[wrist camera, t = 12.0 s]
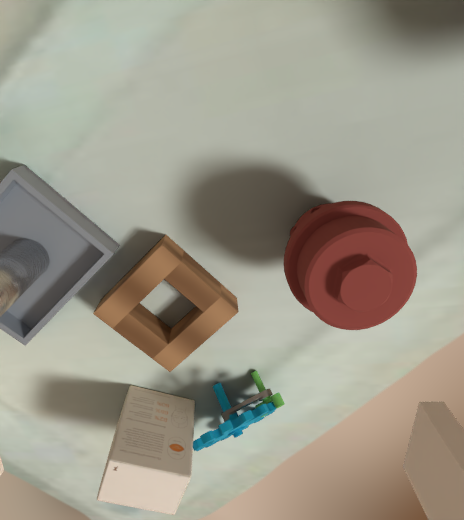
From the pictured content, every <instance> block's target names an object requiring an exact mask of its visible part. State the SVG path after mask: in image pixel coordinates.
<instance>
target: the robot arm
mask: <svg viewBox="0 0 464 520" xmlns="http://www.w3.org/2000/svg"><path fill="white" fill-rule="evenodd" d="M403 468H404V470H405V472H406V474H407V476H408V478H409V480H410V482H411V484H412V486H413V489H414V491H415V493H416V495H417V497H418V499H419V501H420V503H421V505H422V507H423V509H424V511H425V513H426V516H427V518H428V520H464V429H463V428H462V426H461V425H460V424H459V422H458V421H457V420H456V418H455V417H454V415H453V414H452V413H451V411H450V410H449V408H448V407H447V406H446V404H445V403H444V402H419V405H418V409H417V413H416V417H415V421H414V425H413V429H412V433H411V437H410V441H409V445H408V449H407V453H406V457H405V461H404V465H403ZM3 470H4V468H3V464H2V461H1V457H0V475H1V473H2V472H3Z"/></svg>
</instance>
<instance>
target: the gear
mask: <svg viewBox="0 0 464 520" xmlns="http://www.w3.org/2000/svg"><path fill="white" fill-rule="evenodd" d="M251 375H252V377H253V379H254V381H255V383H256V386H257V388H258V390H259V392H260V393H258V394H257V395H255V396H253V397H251V398H249V399H247V400H245V401H243V402H242V403H240V404H238V405H236V406H234V407H232V408H231V405H230V403H229V401H228V399H227V396H226V394H225V392H224V390H223V387H222V385H221V383H218V384H216V385H214V386H213V389H214V391H215V394H216V396H217V398H218V401H219V403H220V405H221V408H222V410H223V413H222V414H221V415H222V417H223V419H224V423H222V424H220V425H219V426H218V427H219V428H218V429H216V430H214V431H212V430H211V431H209V432H207V433H205V434H203V435H201V436H200V437H201V438H199V439H197V440H195V441H193V449H194V451H195V450H196V451H199V450H201V449H203V448H204V447H209V446H211V445H213V444H215V443H216V442H218V441H220V440H221V441H222V440H224V439H226V438H228V437H230V436H231V435H234V438H235V437H238V436H239V435H241V434H243V432H242V430H244V429H246V428H247V427H248V425H250V424H252V423H256V422H258V421H260V420H262V419H263V418H264V416H267V415H269V414H271V413H273V412H274V411H275V410H276V408H279V407H281V406H283V405H284V402H283V400H282V398H281V396H280V394H279V393H277V394H274V395H273V394H272V392H271V390H270V389H265V387H264V385H263V383H262V381H261V379H260V377H259V375H258V373H257V371H255V372H253V373H251ZM272 395H273V396H272ZM257 400H259V401H263V402H262V403H260V404H258V405H256V406H255V407H256V409H254V410H252V411H251V410H249V411H246V412H244V413H242V414H241V415H239V416H238V414H237V412H236V411H238V410H240V409H242V408H244V407H246V406H248V405H250V404H251V403H253V402H255V401H257ZM272 401H273V402H272Z"/></svg>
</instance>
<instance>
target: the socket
mask: <svg viewBox="0 0 464 520" xmlns="http://www.w3.org/2000/svg"><path fill="white" fill-rule="evenodd" d="M163 279H165V280H166V281H167V282H169V283H170V284H171V285H172V286H173V287H175V288H176V289H177V290H178V291H179V292H180V293H182V294H183V295H184V296H185V297H186V298H187V299H189V300H190V301H191V302H192V303H193V304H195V305H196V307H195V308H193V309H192V310H191V311H190V312H189V313H188V314H187V315H186V316H185V317H184V318H183V319H181V320H180V321H179V322H178V323H177V324H176V325H175V326H174V327H173V328H172V329H171V328H170V327H169V326H167V325H166V324H165V323H164V322H162V321H161V320H160V319H159V318H157V317H156V316H155V315H154V314H152V313H151V312H150V311H149V310H147V309H146V308H145V307H144V306H142V305H141V304H140V302H141V301H142V300H143V299H144V298H145V297H146V296H147V295H148V294H149V293H150V292H151V291H152V290H153V289H154V288H155V287H156V286H157V285H158V284H159V283H160V282H161V281H162V280H163ZM237 313H238V304H237V298H236V297H235V296H234V295H233V294H232V293H231V292H230V291H229V290H227V289H226V288H225V287H224V286H223V285H222V284H221V283H220V282H219V281H217V280H216V279H215V278H214V277H213V276H212V275H211V274H210V273H208V272H207V271H206V270H205V269H204V268H203V267H202V266H201V265H199V264H198V263H197V262H196V261H195V260H194V259H193V258H192V257H191V256H189V255H188V254H187V253H186V252H185V251H184V250H183V249H182V248H180V247H179V246H178V245H177V244H176V243H175V242H174V241H173V240H171V239H170V238H169V237H168V236H167V235H165V236H164V237H163V238H162V239H161V240H160V241H159V242H158V243H157V244H156V245H155V246H154V247H153V248H152V249H151V250H150V251H149V252H148V253H147V254H146V255H145V256H144V257H143V258H142V259H141V260H140V261H139V262H138V263H137V264H136V265H135V266H134V267H133V268H132V269H131V270H130V271H129V272H128V273H127V274H126V275H125V276H124V277H123V278H122V279H121V280H120V281H119V282H118V283H117V284H116V285H115V286H114V287H113V288H112V289H111V290H110V291H109V292H108V293H107V294H106V295H105V296H104V297H103V298H102V299H101V301H100V303H99V304H98V306H97V308H96V310H95V311H94V313H93V314H94V315H96V316H97V317H98V318H100V319H101V320H102V321H103V322H105V323H106V324H107V325H109V326H110V327H111V328H113V329H114V330H115V331H117V332H118V333H119V334H121V335H122V336H123V337H125V338H126V339H127V340H128V341H130V342H131V343H132V344H134V345H135V346H136V347H138V348H139V349H140V350H142V351H143V352H144V353H146V354H147V355H148V356H150V357H151V358H152V359H153V360H155V361H156V362H157V363H159V364H160V365H161V366H163V367H164V368H165V369H167V370H168V371H169V372H171V371H172V370H173V369H174V368H175V367H176V366H177V365H179V364H180V363H181V362H182V361H183V360H184V359H185V358H187V357H188V356H189V355H190V354H191V353H192V352H193V351H194V350H196V349H197V348H198V347H199V346H200V345H201V344H202V343H204V342H205V341H206V340H207V339H208V338H209V337H210V336H212V335H213V334H214V333H215V332H216V331H217V330H218V329H220V328H221V327H222V326H223V325H224V324H225V323H226V322H227V321H229V320H230V319H231V318H232V317H233V316H234V315H235V314H237Z"/></svg>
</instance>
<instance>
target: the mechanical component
mask: <svg viewBox="0 0 464 520" xmlns="http://www.w3.org/2000/svg"><path fill="white" fill-rule="evenodd" d="M290 236H291V237H290V239H289V241H288V244H287V246H286V250H285V255H284V272H285V276H286V279H287V282H288V284H289V287H290V289H291V291H292V293H293V295H294V296H295V298H296V299H297V300H298V301H299V302H300V303H301V304H302V305H303V306H304V307H305V308H307V309H308V310H310V311H312V312H314V313H315V315H316V316H317V317H319V318H320V319H321V320H322V321H324V322H325V323H327V324H329V325H331V326H333V327H336V328H340V329H346V330H360V329H366V328H370V327H373V326H376V325H378V324H381V323H383V322H385V321H386V320H388V319H390V318H391V317H392V316H394V315H395V314H396V313H397V312H398V311H399V310H400V309H401V308H402V307H403V306H404V305H405V303H406V302H407V301H408V299H409V297H410V296H411V294H412V292H413V289H414V286H415V283H416V277H417V266H416V260H415V257H414V255H413V252H412V251H411V249H410V247H409V246H408V244H407V239H406V237H405V234H404V232H403V230H402V229H401V227H400V226H399V224H398V223H397V222H396V221H395V220H394V219H393V218H392V217H391V216H389V215H388V214H387V213H385V212H384V211H382V210H381V209H379V208H377V207H375V206H373V205H371V204H368V203H364V202H358V201H342V202H336V203H332V204H322V205H319V206H316V207H313V208H312V209H310V210H308V211H307V212H306V213H304V214H303V215H302V216H301V217H300V218H299V220H298V221H297V223H296V224H295V226H294V227H293V228H292V229H291V231H290Z"/></svg>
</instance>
